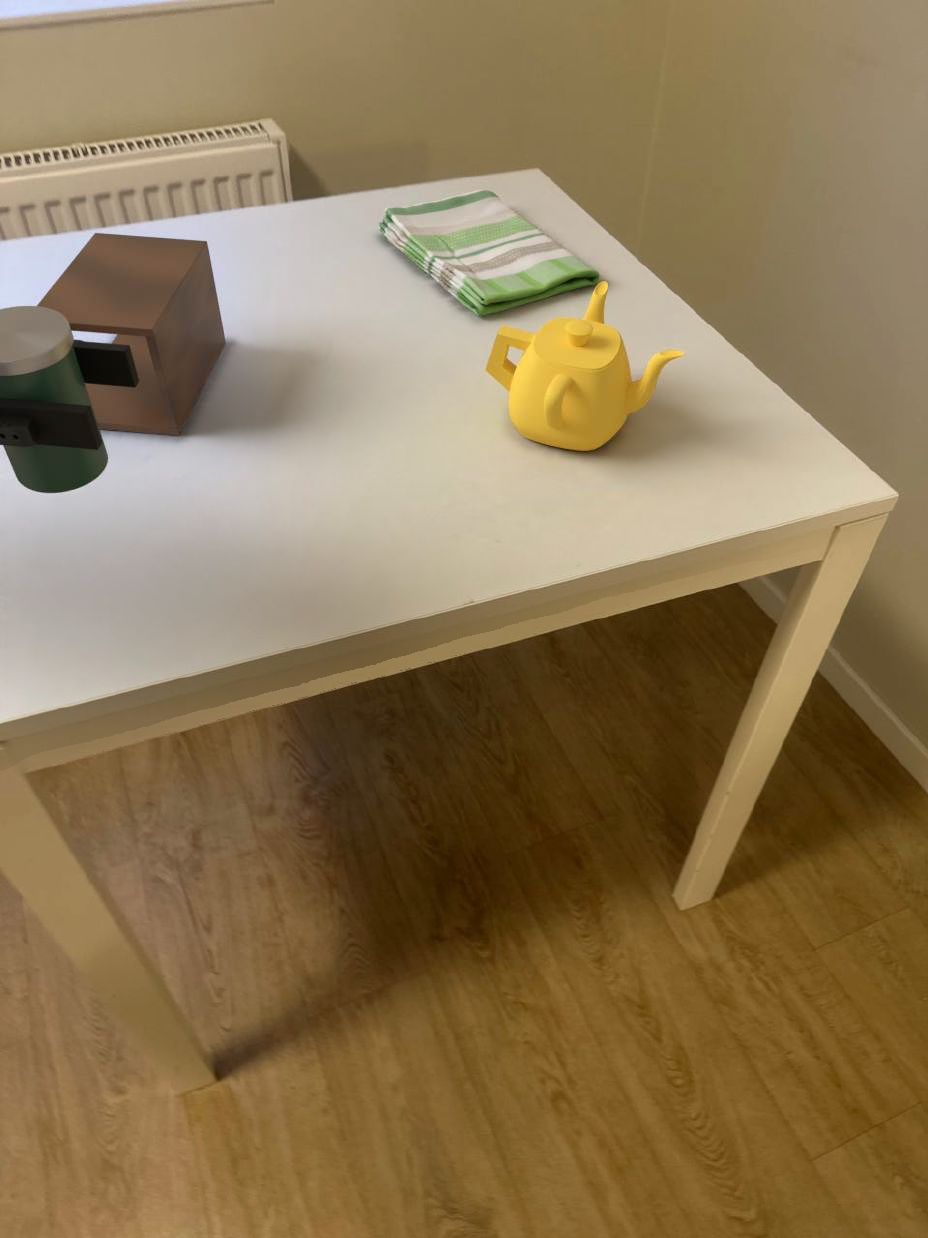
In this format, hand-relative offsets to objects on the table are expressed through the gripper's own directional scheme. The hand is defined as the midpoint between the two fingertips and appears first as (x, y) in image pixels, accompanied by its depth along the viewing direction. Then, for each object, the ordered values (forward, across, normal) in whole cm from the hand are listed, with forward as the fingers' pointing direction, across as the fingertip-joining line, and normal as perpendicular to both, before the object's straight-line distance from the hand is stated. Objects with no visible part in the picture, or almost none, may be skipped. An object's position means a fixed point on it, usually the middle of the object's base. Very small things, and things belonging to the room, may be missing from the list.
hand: (113, 395), depth 58 cm
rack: (-12, -28, -19) cm, 36 cm away
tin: (-5, 0, -6) cm, 8 cm away
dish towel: (+19, -58, -19) cm, 64 cm away
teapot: (+30, -29, -19) cm, 46 cm away
